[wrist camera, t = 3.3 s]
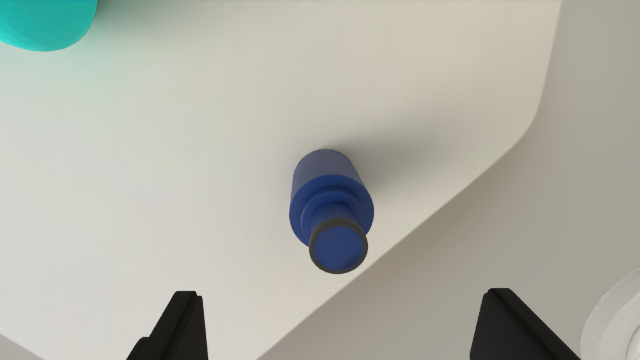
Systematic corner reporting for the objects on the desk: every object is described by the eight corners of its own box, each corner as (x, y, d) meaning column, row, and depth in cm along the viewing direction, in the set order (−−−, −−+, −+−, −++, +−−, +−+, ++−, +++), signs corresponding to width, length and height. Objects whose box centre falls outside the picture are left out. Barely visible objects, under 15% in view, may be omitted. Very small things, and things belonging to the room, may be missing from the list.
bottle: (358, 150, 25) (396, 200, 15) (354, 210, 27) (385, 293, 16) (293, 148, 25) (285, 198, 14) (292, 209, 26) (285, 293, 16)
